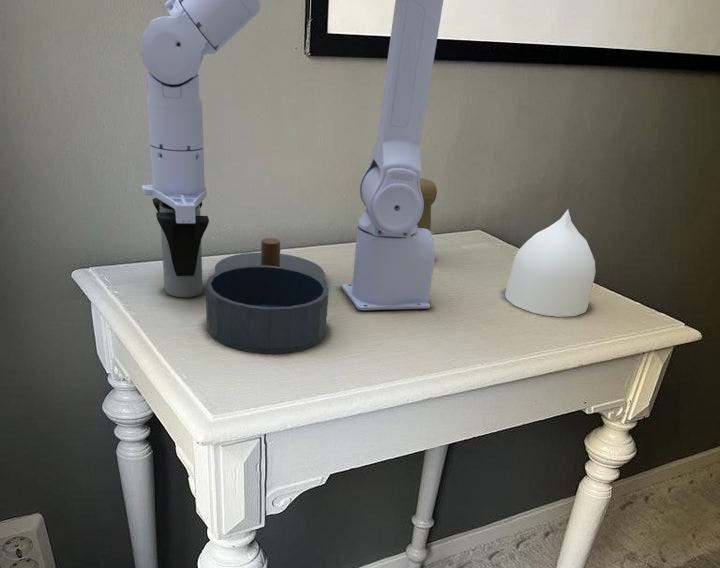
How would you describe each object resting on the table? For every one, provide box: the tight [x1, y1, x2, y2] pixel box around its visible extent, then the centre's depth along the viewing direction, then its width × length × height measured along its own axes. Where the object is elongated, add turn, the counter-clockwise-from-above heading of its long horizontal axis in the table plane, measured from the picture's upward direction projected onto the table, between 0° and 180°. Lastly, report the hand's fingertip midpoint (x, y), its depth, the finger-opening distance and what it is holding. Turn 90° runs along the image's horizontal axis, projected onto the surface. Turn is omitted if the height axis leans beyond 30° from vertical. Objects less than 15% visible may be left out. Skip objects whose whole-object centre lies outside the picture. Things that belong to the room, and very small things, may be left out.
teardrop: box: [504, 209, 596, 318], centre depth 95 cm, size 11×11×12 cm
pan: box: [204, 265, 330, 355], centre depth 81 cm, size 13×13×5 cm
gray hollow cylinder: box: [160, 202, 203, 298], centre depth 87 cm, size 4×4×10 cm
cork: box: [417, 177, 438, 233], centre depth 106 cm, size 6×6×11 cm
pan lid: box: [214, 237, 326, 282], centre depth 95 cm, size 14×14×5 cm
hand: (182, 267), depth 88 cm, fingers closed on gray hollow cylinder, 4 cm apart
